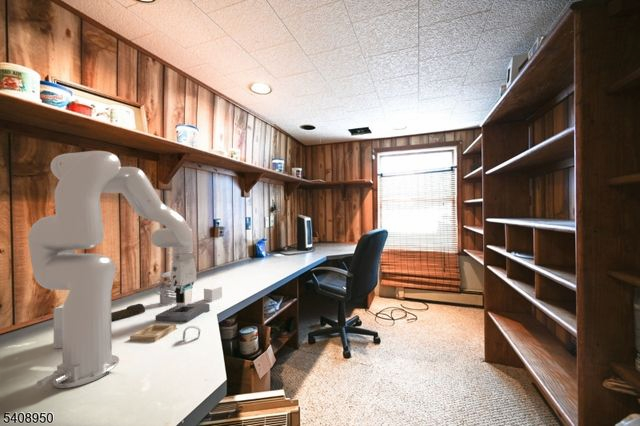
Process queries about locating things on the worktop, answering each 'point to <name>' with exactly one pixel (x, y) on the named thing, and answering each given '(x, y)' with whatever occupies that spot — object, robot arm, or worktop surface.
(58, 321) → the small box
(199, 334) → the wristwatch
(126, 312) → the hand tool
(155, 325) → the wooden square tray
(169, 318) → the port panel
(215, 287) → the white cube
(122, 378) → the worktop surface
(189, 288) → the plug
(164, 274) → the french press
